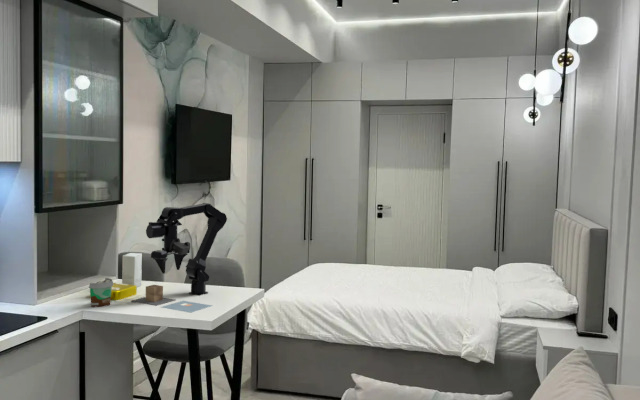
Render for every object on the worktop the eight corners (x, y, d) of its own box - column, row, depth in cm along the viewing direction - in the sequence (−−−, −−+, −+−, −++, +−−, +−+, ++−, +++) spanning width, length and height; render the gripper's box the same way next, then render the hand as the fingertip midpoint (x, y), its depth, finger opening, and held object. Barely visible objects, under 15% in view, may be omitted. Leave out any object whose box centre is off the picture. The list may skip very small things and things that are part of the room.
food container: (102, 308, 236) (102, 284, 235) (88, 307, 237) (89, 283, 236) (119, 302, 248) (119, 278, 247) (105, 301, 249) (106, 277, 248)
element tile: (138, 294, 264) (138, 284, 264) (117, 301, 250) (117, 290, 250) (110, 291, 269) (110, 281, 269) (88, 298, 255) (88, 287, 254)
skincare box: (129, 284, 283) (129, 252, 282) (142, 285, 282) (142, 253, 281) (121, 288, 275) (121, 255, 274) (134, 288, 274) (135, 255, 273)
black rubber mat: (151, 296, 260) (151, 295, 259) (176, 300, 253) (176, 299, 253) (131, 301, 249) (131, 300, 249) (156, 306, 242) (156, 305, 242)
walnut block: (154, 298, 254) (154, 284, 254) (162, 299, 252) (162, 286, 252) (145, 300, 250) (145, 286, 250) (154, 302, 248) (154, 288, 247)
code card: (183, 301, 253) (183, 300, 252) (212, 306, 245) (212, 305, 245) (160, 307, 240) (160, 307, 240) (190, 313, 233) (190, 312, 233)
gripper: (170, 240, 244) (170, 277, 245) (199, 235, 260) (199, 269, 261) (149, 238, 249) (150, 274, 250) (179, 233, 265) (179, 267, 266)
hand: (170, 271), depth 257 cm, fingers open, 9 cm apart
